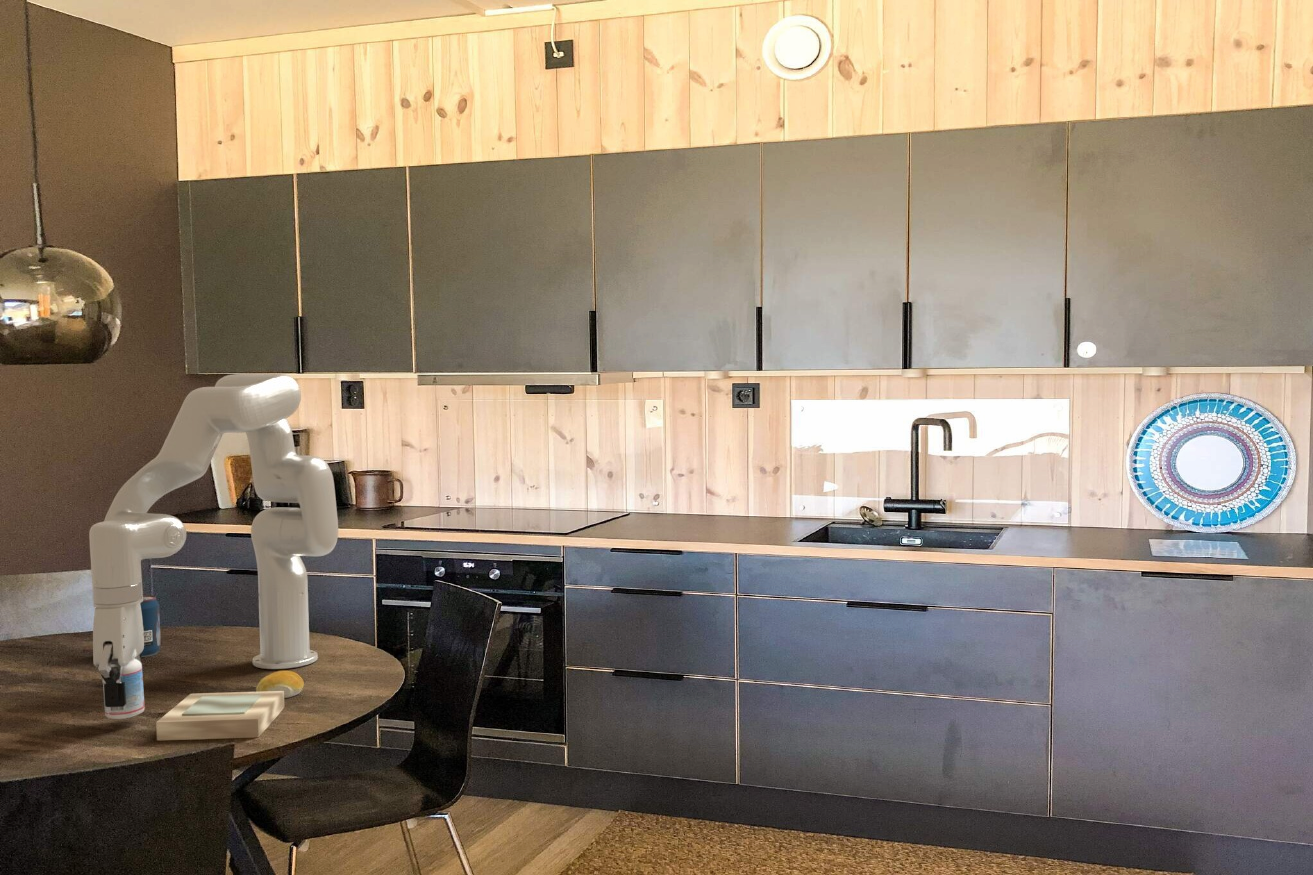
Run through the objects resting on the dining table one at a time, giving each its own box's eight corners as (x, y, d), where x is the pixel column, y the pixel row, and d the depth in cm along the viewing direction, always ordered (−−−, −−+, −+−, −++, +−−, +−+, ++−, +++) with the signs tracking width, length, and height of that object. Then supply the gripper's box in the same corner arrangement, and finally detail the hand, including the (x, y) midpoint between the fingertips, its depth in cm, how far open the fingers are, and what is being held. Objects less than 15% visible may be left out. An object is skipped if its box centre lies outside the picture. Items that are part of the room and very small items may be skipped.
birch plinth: (191, 710, 196) (190, 691, 196) (284, 707, 197) (283, 689, 197) (156, 740, 180) (156, 720, 180) (258, 737, 181) (257, 717, 181)
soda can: (120, 654, 237) (118, 597, 236) (155, 648, 241) (152, 593, 240) (130, 660, 231) (128, 602, 231) (165, 654, 236) (163, 598, 235)
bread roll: (305, 685, 212) (304, 664, 212) (301, 698, 204) (300, 676, 203) (259, 688, 210) (258, 667, 210) (253, 701, 202) (252, 680, 201)
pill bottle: (152, 710, 191) (149, 646, 190) (122, 722, 185) (118, 655, 184) (127, 706, 193) (123, 642, 192) (96, 717, 188) (92, 651, 187)
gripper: (116, 584, 196) (121, 685, 197) (71, 607, 179) (78, 717, 180) (160, 583, 196) (165, 683, 198) (120, 605, 179) (126, 715, 181)
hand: (124, 698), depth 189 cm, fingers closed on pill bottle, 6 cm apart
